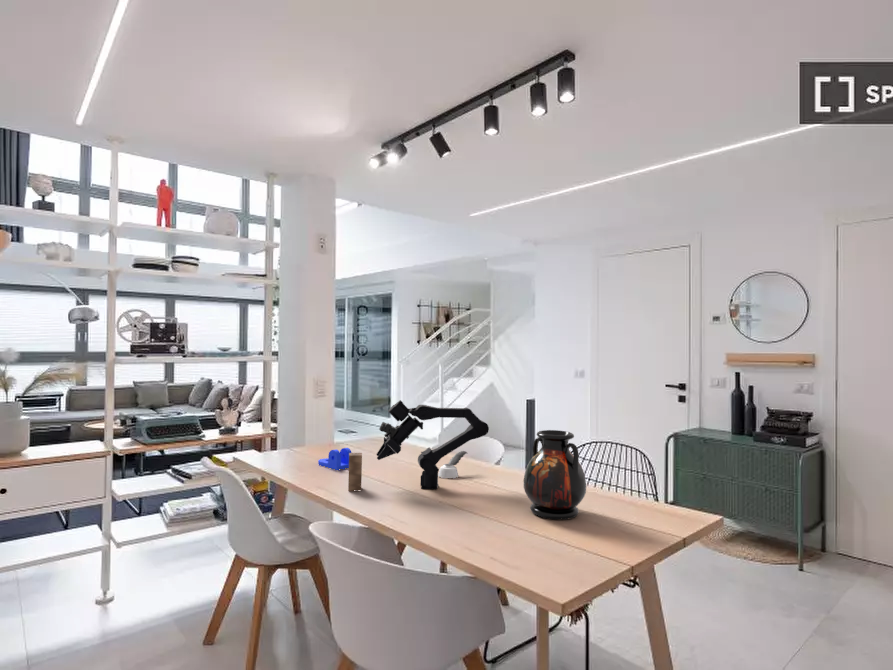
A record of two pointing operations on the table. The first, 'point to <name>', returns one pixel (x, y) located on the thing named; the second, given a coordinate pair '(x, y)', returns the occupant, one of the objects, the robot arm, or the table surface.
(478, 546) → the table surface
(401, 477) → the table surface
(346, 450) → the bracket
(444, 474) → the inkwell
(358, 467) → the walnut block
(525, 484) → the amphora vase
